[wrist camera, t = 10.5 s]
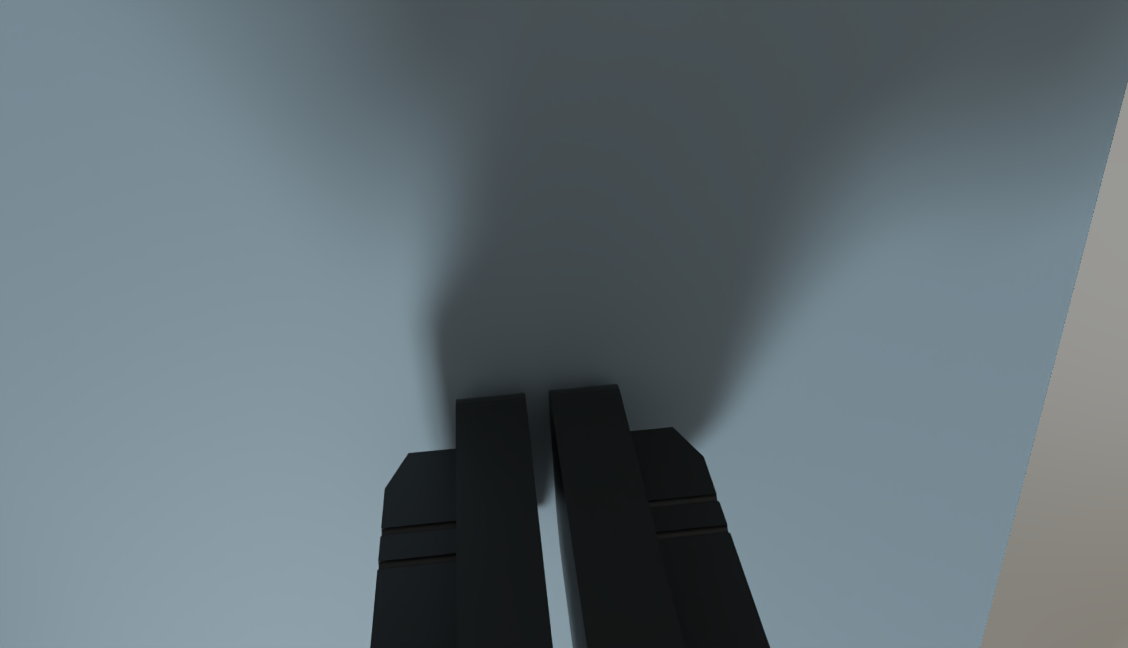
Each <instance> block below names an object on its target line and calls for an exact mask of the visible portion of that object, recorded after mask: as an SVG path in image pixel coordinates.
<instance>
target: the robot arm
mask: <svg viewBox="0 0 1128 648" xmlns="http://www.w3.org/2000/svg"><path fill="white" fill-rule="evenodd" d="M549 413H550V428H551V442H552V457H553V472H554V486H555V501H556V514H557V525H558V535H559V545H560V554H561V562H562V570H563V578H564V585H565V593H566V600H567V608H568V616H569V623H570V631H571V639H572V646H573V648H770V645H769V643H768V640H767V637H766V634H765V631H764V628H763V625H762V622H761V620H760V617H759V614H758V611H757V608H756V605H755V602H754V599H753V597H752V594H751V591H750V588H749V585H748V582H747V579H746V576H745V574H744V571H743V568H742V565H741V562H740V559H739V556H738V553H737V551H736V548H735V545H734V542H733V539H732V536H731V533H728V526H727V522H726V519H725V516H724V513H723V510H722V507H721V505H720V502H719V501H717V493H716V490H715V487H714V484H713V482H712V479H711V476H710V473H709V470H708V467H707V464H706V461H705V459H704V456H703V455H702V454H701V453H700V452H698V451H697V450H696V449H695V448H694V447H693V446H692V445H691V444H690V443H689V442H688V441H687V440H686V439H685V438H684V437H683V436H682V435H681V434H680V433H679V432H678V431H677V430H676V429H674V428H673V427H667V428H657V429H646V430H636V431H630V428H629V424H628V420H627V417H626V413H625V409H624V405H623V401H622V397H621V393H620V389H619V387H618V385H617V384H611V385H600V386H590V387H579V388H569V389H558V390H549ZM381 532H382V536H380V545H379V556H378V565H379V570H377V578H376V589H375V600H374V611H373V622H372V633H371V645H370V648H553V643H552V634H551V625H550V616H549V606H548V597H547V588H546V579H545V570H544V561H543V552H542V543H541V534H540V525H539V516H538V506H537V497H536V488H535V479H534V470H533V461H532V452H531V443H530V434H529V425H528V415H527V406H526V397H525V393H519V394H508V395H497V396H487V397H476V398H466V399H456V448H455V449H444V450H434V451H424V452H414V453H408V454H407V456H406V457H405V459H404V460H403V462H402V463H401V465H400V466H399V468H398V469H397V471H396V472H395V474H394V475H393V477H392V478H391V480H390V481H389V483H388V484H387V486H386V487H385V490H384V501H383V512H382V523H381Z"/></svg>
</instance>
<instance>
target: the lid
mask: <svg viewBox="0 0 1128 648" xmlns="http://www.w3.org/2000/svg"><path fill="white" fill-rule="evenodd" d="M1127 82H1128V0H0V648H370V645H371V633H372V622H373V611H374V600H375V589H376V578H377V570H379V565H378V556H379V545H380V536H382V532H381V523H382V512H383V501H384V490H385V487H386V486H387V484H388V483H389V481H390V480H391V478H392V477H393V475H394V474H395V472H396V471H397V469H398V468H399V466H400V465H401V463H402V462H403V460H404V459H405V457H406V456H407V454H408V453H414V452H424V451H434V450H444V449H455V448H456V399H466V398H476V397H487V396H497V395H508V394H519V393H525V397H526V406H527V415H528V425H529V434H530V443H531V452H532V461H533V470H534V479H535V488H536V497H537V506H538V516H539V525H540V534H541V543H542V552H543V561H544V570H545V579H546V588H547V597H548V606H549V616H550V625H551V634H552V643H553V648H573V646H572V639H571V631H570V623H569V616H568V608H567V600H566V593H565V585H564V578H563V570H562V562H561V554H560V545H559V535H558V525H557V514H556V501H555V486H554V472H553V457H552V442H551V428H550V413H549V390H558V389H569V388H579V387H590V386H600V385H611V384H617V385H618V387H619V389H620V393H621V397H622V401H623V405H624V409H625V413H626V417H627V420H628V424H629V428H630V431H636V430H646V429H657V428H667V427H673V428H674V429H676V430H677V431H678V432H679V433H680V434H681V435H682V436H683V437H684V438H685V439H686V440H687V441H688V442H689V443H690V444H691V445H692V446H693V447H694V448H695V449H696V450H697V451H698V452H700V453H701V454H702V455H703V456H704V459H705V461H706V464H707V467H708V470H709V473H710V476H711V479H712V482H713V484H714V487H715V490H716V493H717V501H719V502H720V505H721V507H722V510H723V513H724V516H725V519H726V522H727V526H728V533H731V536H732V539H733V542H734V545H735V548H736V551H737V553H738V556H739V559H740V562H741V565H742V568H743V571H744V574H745V576H746V579H747V582H748V585H749V588H750V591H751V594H752V597H753V599H754V602H755V605H756V608H757V611H758V614H759V617H760V620H761V622H762V625H763V628H764V631H765V634H766V637H767V640H768V643H769V645H770V648H980V646H981V643H982V639H983V635H984V631H985V627H986V623H987V619H988V616H989V612H990V608H991V604H992V600H993V597H994V593H995V589H996V585H997V581H998V577H999V573H1000V570H1001V566H1002V562H1003V558H1004V554H1005V551H1006V547H1007V543H1008V539H1009V535H1010V531H1011V527H1012V524H1013V520H1014V516H1015V512H1016V508H1017V505H1018V501H1019V497H1020V493H1021V489H1022V485H1023V481H1024V478H1025V474H1026V470H1027V466H1028V462H1029V458H1030V455H1031V451H1032V447H1033V443H1034V439H1035V435H1036V431H1037V428H1038V423H1039V420H1040V416H1041V412H1042V409H1043V405H1044V401H1045V397H1046V393H1047V389H1048V386H1049V382H1050V378H1051V374H1052V370H1053V366H1054V362H1055V358H1056V355H1057V351H1058V347H1059V343H1060V339H1061V335H1062V332H1063V328H1064V324H1065V320H1066V316H1067V313H1068V309H1069V305H1070V301H1071V297H1072V293H1073V290H1074V286H1075V282H1076V278H1077V274H1078V270H1079V266H1080V263H1081V259H1082V255H1083V251H1084V247H1085V243H1086V240H1087V236H1088V232H1089V228H1090V224H1091V220H1092V217H1093V213H1094V209H1095V205H1096V201H1097V197H1098V193H1099V189H1100V186H1101V182H1102V178H1103V174H1104V171H1105V166H1106V163H1107V159H1108V155H1109V151H1110V147H1111V144H1112V140H1113V136H1114V132H1115V128H1116V124H1117V120H1118V117H1119V113H1120V109H1121V105H1122V101H1123V98H1124V94H1125V90H1126V86H1127Z"/></svg>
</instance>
